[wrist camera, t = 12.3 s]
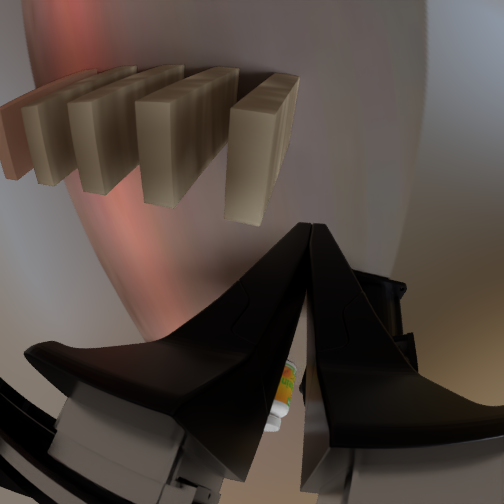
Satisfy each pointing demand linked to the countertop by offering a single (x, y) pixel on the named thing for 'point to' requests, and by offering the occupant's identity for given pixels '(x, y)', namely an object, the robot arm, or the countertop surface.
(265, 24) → the countertop surface
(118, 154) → the domino
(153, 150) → the domino
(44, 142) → the domino
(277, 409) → the supplement bottle
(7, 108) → the domino
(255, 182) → the domino
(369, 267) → the countertop surface
